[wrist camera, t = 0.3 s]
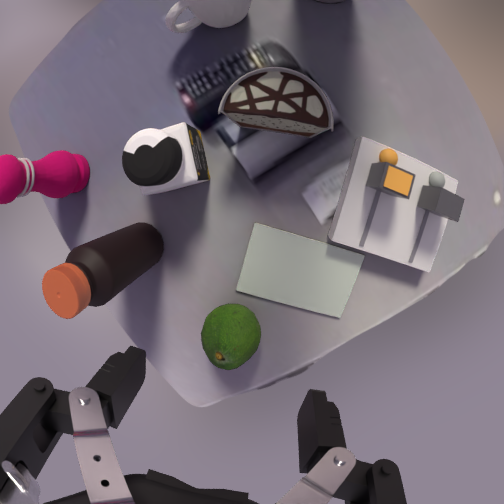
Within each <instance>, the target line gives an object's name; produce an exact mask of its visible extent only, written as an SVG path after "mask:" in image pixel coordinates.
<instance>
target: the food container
mask: <svg viewBox="0 0 504 504" xmlns="http://www.w3.org/2000/svg"><path fill="white" fill-rule="evenodd" d="M220 112H222V113H223V114H224V115H226V116H227V117H228V118H229V119H231V120H232V121H233V122H234V123H236V124H237V125H238V126H239V127H242V128H250V129H257V130H265V131H271V132H278V133H284V134H290V135H295V136H301V137H306V138H312V137H314V136H316V135H318V134H320V133H322V132H324V131H326V130H329V129H332V131H333V122H334V121H333V112H332V109H331V105H330V103H329V101H328V98H327V96H326V95H325V93H324V92H323V91H322V89H321V88H320V87H319V86H318V85H317V84H316V83H315V82H314V81H313V80H311V79H310V78H309V77H307V76H305V75H304V74H302V73H300V72H297V71H294V70H291V69H287V68H281V67H268V68H262V69H257V70H255V71H252V72H249V73H247V74H246V75H244V76H242V77H240V78H239V79H238V80H237V81H235V82H234V83H233V84H232V85H231V86H230V88H229V89H228V90H227V92H226V93H225V95H224V96H223V99H222V101H221V103H220V107H219V110H218V114H220Z"/></svg>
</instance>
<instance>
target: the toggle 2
mask: <svg viewBox="0 0 504 504" xmlns="http://www.w3.org/2000/svg"><path fill="white" fill-rule="evenodd" d="M463 203H464V199H463V198H461V197H459V196H458V195H456V194H454V193H452V192H450V191H448V190H446V189H444V188H442V187H435V186H426V185H423V187H422V190H421V194H420V198H419V201H418V205H417V207H420V208H422V209H424V210H427V211H429V212H431V213H433V214H436V215H438V216H440V217H444V218H447V219H450V220H453V221H457V222H458V221H459V217H460V214H461V210H462V207H463Z"/></svg>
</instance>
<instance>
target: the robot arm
mask: <svg viewBox="0 0 504 504" xmlns="http://www.w3.org/2000/svg"><path fill="white" fill-rule="evenodd" d="M316 1H319V2H324V3H338V2H342V1H344V0H316ZM145 370H146V352H145V350H142V349H139V348H136V347H133V346H130V347H129V348H128V349H127V351H126V352H125V353H124V354H123V353H121V352H117V353H115V354H114V355H112V356H110V357H109V358H108V360H107V361H106V362H105V364H103V366H102V367H101V369H99V371H98V372H97V373H96V374H95V376H94V377H93V378H92V379H91V380H90V382H89V383H88V384H87V385H86V387H78V388H75V389H74V390H72V391H71V392H67V391H62V390H57V389H54V388H53V385H52V383H51V382H50V381H49V380H47V379H45V378H41V377H38V378H33V379H31V380H30V381H29V382H28V383H27V384H26V385H25V386H24V387H23V389H22V390H21V391H20V392H19V393H18V394H17V396H16V397H15V398H14V399H13V400H12V401H11V403H10V404H9V405H8V406H7V407H6V409H5V410H4V411H3V412H2V413H1V415H0V504H39V502H38V501H39V495H40V487H39V485H38V483H37V481H36V478H37V476H38V475H39V473H40V471H41V469H42V468H43V466H44V464H45V462H46V460H47V459H48V457H49V455H50V454H51V452H52V450H53V449H54V447H55V445H56V444H57V442H58V440H59V439H60V437H61V435H62V434H63V433H66V434H71V435H73V437H74V442H75V447H76V452H77V456H78V460H79V465H80V468H81V472H82V476H83V480H84V483H85V486H86V490H85V491H82V492H79V493H76V494H73V495H70V496H67V497H63V498H61V499H57V500H54V501H50V502H46V503H44V504H258V503H257V502H254V501H252V500H249V499H248V493H244V492H238V491H232V490H226V489H198V488H195V487H192V486H190V485H188V484H186V483H184V482H182V481H180V480H178V479H176V478H174V477H172V476H169V475H166V474H162V473H159V472H156V471H153V470H150V469H149V470H148V473H147V474H129V475H124V476H123V473H122V471H121V468H120V465H119V463H118V460H117V457H116V454H115V451H114V448H113V445H112V442H111V439H110V435H109V433H108V430H107V429H108V427H109V426H111V427H113V428H116V429H117V427H118V426H119V424H120V422H121V420H122V419H123V417H124V415H125V413H126V412H127V410H128V408H129V407H130V405H131V403H132V401H133V400H134V398H135V396H136V395H137V393H138V391H139V390H140V388H141V386H142V384H143V382H144V379H145V373H146V371H145ZM297 425H298V444H299V468H300V473H307V475H306V476H305V477H304V478H302V479H301V480H300V481H299V482H298V483H297V484H296V485H295V486H294V487H293V488H292V489H291V490H289V491H288V492H287V493H286V494H285V495H284V496H283V497H282V498H281V499H280V500H279V501H278V502H277V503H275V504H327V503H328V502H329V501H330V499H331V498H332V497H335V498H339V499H342V500H345V504H407V503H406V498H405V494H404V489H403V484H402V480H401V476H400V472H399V468H398V466H397V465H396V464H395V463H394V462H392V461H390V460H387V459H380V460H378V461H376V462H375V463H374V464H369V463H366V462H361V461H359V460H357V459H356V458H355V456H354V455H353V453H352V452H351V451H349V450H347V448H346V443H345V438H344V433H343V428H342V426H341V419H340V414H339V410H338V408H337V407H336V406H335V404H334V403H333V402H328V401H327V397H326V392H325V391H320V390H313V389H310V390H309V391H308V393H307V395H306V397H305V399H304V401H303V404H302V406H301V408H300V410H299V413H298V419H297Z"/></svg>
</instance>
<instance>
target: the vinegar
mask: <svg viewBox="0 0 504 504" xmlns="http://www.w3.org/2000/svg"><path fill="white" fill-rule="evenodd" d="M163 250H164V249H163V240H162V237H161V235H160V233H159V232H158V230H157V229H156V228H154V227H153V226H152V225H150V224H147V223H136V224H133V225H130V226H128V227H125V228H122V229H120V230H117V231H115V232H112V233H110V234H107V235H105V236H102V237H100V238H97V239H95V240H92V241H90V242H87V243H85V244H83V245H80V246H78V247H76V248H74V249H73V250H72V251H71V252H70V253H69V255H68V257H67V259H66V262H65V263H63V264H60V265H58V266H57V267H54V268H52V269H50V270H48V271H47V272H46V274H45V275H44V278H43V281H42V289H43V294H44V297H45V300H46V302H47V304H48V305H49V307H50V308H51V309H52V311H54V312H55V314H57V315H58V316H60V317H63V318H66V319H70V318H73V317H75V316H76V315H77V314H79V313H80V312H81V311H82V310H83V309H85V308H86V307H87V306H88V305H89V306H95V307H97V306H101V305H104V304H106V303H107V302H108V301H110V300H111V299H112V298H113V297H114V296H116V295H117V294H118V293H119V292H121V291H122V290H123V289H124V288H126V287H127V286H128V285H129V284H131V283H132V282H133V281H134V280H136V279H137V278H138V277H139V276H141V275H142V274H143V273H144V272H146V271H147V270H148V269H150V268H151V267H152V266H153V265H155V264H156V263H157V262H158V261H159V260H160V258H161V257H162V253H163Z"/></svg>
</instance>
